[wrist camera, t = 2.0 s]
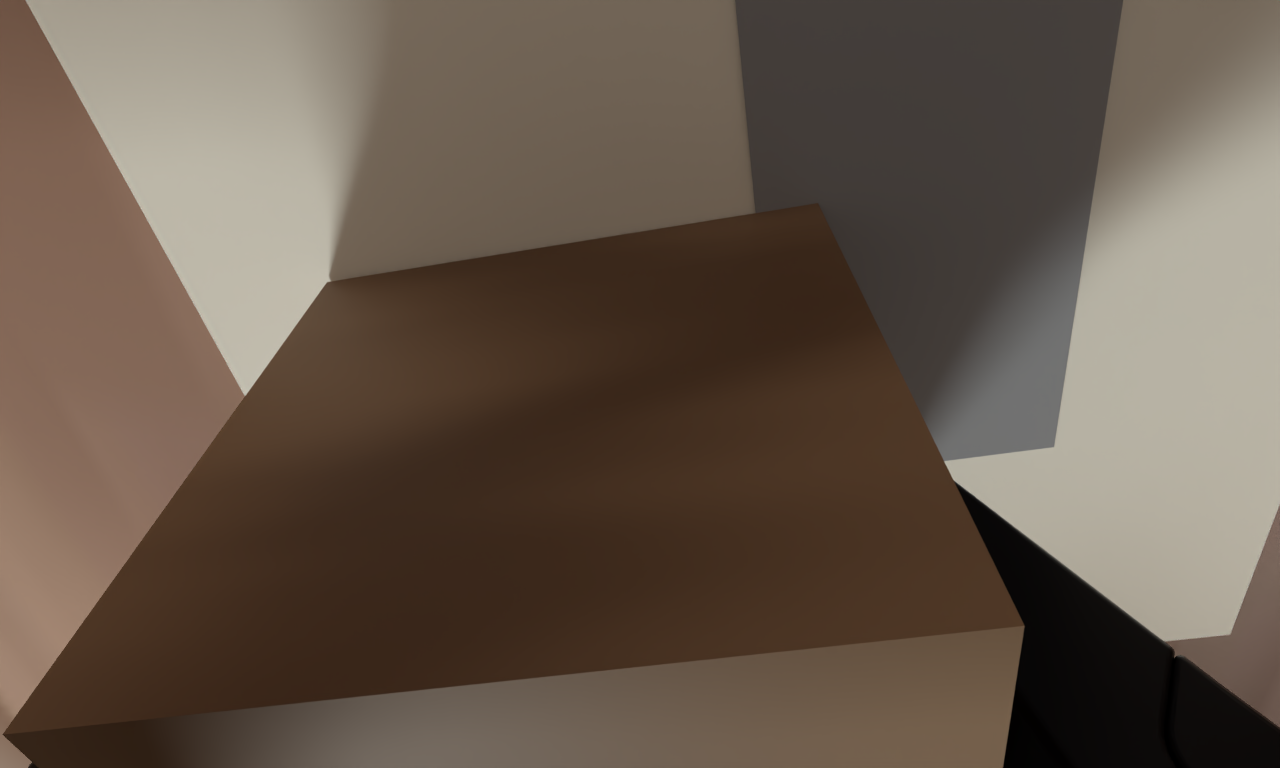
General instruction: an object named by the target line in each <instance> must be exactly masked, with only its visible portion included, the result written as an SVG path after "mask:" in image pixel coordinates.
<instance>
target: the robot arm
mask: <svg viewBox="0 0 1280 768" xmlns="http://www.w3.org/2000/svg"><path fill="white" fill-rule="evenodd" d="M954 482H955V481H954ZM955 484H956V487H957V489H958V491H959V493H960V495H961V497H962V499H963V501H964V503H965V505H966V507H967V509H968V511H969V513H970V515H971V517H972V519H973V521H974V523H975V525H976V527H977V529H978V532H979V534H980V536H981V538H982V540H983V542H984V544H985V546H986V548H987V550H988V552H989V554H990V556H991V558H992V560H993V562H994V564H995V566H996V568H997V570H998V572H999V574H1000V577H1001V579H1002V581H1003V583H1004V585H1005V587H1006V589H1007V591H1008V593H1009V595H1010V597H1011V599H1012V601H1013V603H1014V605H1015V607H1016V609H1017V611H1018V613H1019V615H1020V617H1021V619H1022V622H1023V624H1024V626H1025V627H1024V633H1023V640H1022V646H1021V653H1020V659H1019V666H1018V672H1017V679H1016V685H1015V692H1014V699H1013V705H1012V712H1011V718H1010V725H1009V731H1008V738H1007V744H1006V751H1005V757H1004V764H1003V768H1280V727H1278V726H1277V725H1275V724H1274V723H1273V722H1271V721H1270V720H1269V719H1267V718H1266V717H1265V716H1263V715H1262V714H1260V713H1259V712H1258V711H1256V710H1255V709H1254V708H1252V707H1251V706H1250V705H1248V704H1247V703H1245V702H1244V701H1243V700H1241V699H1240V698H1239V697H1237V696H1236V695H1234V694H1233V693H1232V692H1230V691H1229V690H1228V689H1226V688H1225V687H1224V686H1222V685H1221V684H1220V683H1218V682H1217V681H1216V680H1215V679H1213V678H1212V677H1211V676H1209V675H1208V674H1207V673H1205V672H1204V671H1203V670H1201V669H1200V668H1199V667H1198V666H1196V665H1195V664H1194V663H1192V662H1191V661H1190V660H1188V659H1187V658H1186V657H1184V656H1181V655H1180V656H1176V657H1175V658H1174V649H1173V648H1172V647H1171V646H1169V645H1168V644H1167V643H1166V642H1164V641H1163V640H1162V639H1160V638H1159V637H1158V636H1156V635H1155V634H1154V633H1152V632H1151V631H1150V630H1149V629H1147V628H1146V627H1145V626H1143V625H1142V624H1141V623H1139V622H1138V621H1137V620H1136V619H1134V618H1133V617H1132V616H1130V615H1129V614H1128V613H1126V612H1125V611H1124V610H1122V609H1121V608H1120V607H1119V606H1117V605H1116V604H1115V603H1113V602H1112V601H1111V600H1109V599H1108V598H1107V597H1105V596H1104V595H1103V594H1102V593H1100V592H1099V591H1098V590H1096V589H1095V588H1094V587H1092V586H1091V585H1090V584H1088V583H1087V582H1086V581H1085V580H1083V579H1082V578H1081V577H1079V576H1078V575H1077V574H1075V573H1074V572H1073V571H1071V570H1070V569H1069V568H1068V567H1066V566H1065V565H1064V564H1062V563H1061V562H1060V561H1058V560H1057V559H1056V558H1055V557H1053V556H1052V555H1051V554H1049V553H1048V552H1047V551H1045V550H1044V549H1043V548H1041V547H1040V546H1039V545H1038V544H1036V543H1035V542H1034V541H1032V540H1031V539H1030V538H1028V537H1027V536H1026V535H1024V534H1023V533H1022V532H1021V531H1019V530H1018V529H1017V528H1015V527H1014V526H1013V525H1011V524H1010V523H1009V522H1007V521H1006V520H1005V519H1004V518H1002V517H1001V516H1000V515H998V514H997V513H996V512H994V511H993V510H992V509H990V508H989V507H988V506H987V505H985V504H984V503H983V502H981V501H980V500H979V499H977V498H976V497H975V496H974V495H972V494H971V493H970V492H968V491H967V490H966V489H964V488H963V487H962V486H960V485H959V484H958V483H957V482H955ZM28 768H38V767H37V766H36V765H35V764H34V763H33V762H32V763H31V764H30V765H29V767H28Z"/></svg>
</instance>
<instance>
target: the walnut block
mask: <svg viewBox="0 0 1280 768" xmlns="http://www.w3.org/2000/svg"><path fill="white" fill-rule="evenodd" d="M1024 627H1025V626H1024V624H1023V622H1022V619H1021V617H1020V615H1019V613H1018V611H1017V609H1016V607H1015V605H1014V603H1013V601H1012V599H1011V597H1010V595H1009V593H1008V591H1007V589H1006V587H1005V585H1004V583H1003V581H1002V579H1001V577H1000V574H999V572H998V570H997V568H996V566H995V564H994V562H993V560H992V558H991V556H990V554H989V552H988V550H987V548H986V546H985V544H984V542H983V540H982V538H981V536H980V534H979V532H978V529H977V527H976V525H975V523H974V521H973V519H972V517H971V515H970V513H969V511H968V509H967V507H966V505H965V503H964V501H963V499H962V497H961V495H960V493H959V491H958V489H957V487H956V484H955V482H954V480H953V478H952V476H951V474H950V472H949V470H948V468H947V466H946V464H945V462H944V460H943V458H942V456H941V454H940V452H939V450H938V448H937V446H936V444H935V442H934V439H933V437H932V435H931V433H930V431H929V429H928V427H927V425H926V423H925V421H924V419H923V417H922V415H921V413H920V411H919V409H918V407H917V405H916V403H915V401H914V399H913V397H912V394H911V392H910V390H909V388H908V386H907V384H906V382H905V380H904V378H903V376H902V374H901V372H900V370H899V368H898V366H897V364H896V362H895V360H894V358H893V356H892V354H891V352H890V349H889V347H888V345H887V343H886V341H885V339H884V337H883V335H882V333H881V331H880V329H879V327H878V325H877V323H876V321H875V319H874V317H873V315H872V313H871V311H870V309H869V307H868V304H867V302H866V300H865V298H864V296H863V294H862V292H861V290H860V288H859V286H858V284H857V282H856V280H855V278H854V276H853V274H852V272H851V270H850V268H849V266H848V264H847V262H846V259H845V257H844V255H843V253H842V251H841V249H840V247H839V245H838V243H837V241H836V239H835V237H834V235H833V233H832V231H831V229H830V227H829V225H828V223H827V221H826V219H825V217H824V214H823V212H822V210H821V208H820V206H819V204H818V203H816V204H810V205H803V206H797V207H791V208H785V209H779V210H772V211H766V212H760V213H754V214H747V215H741V216H735V217H729V218H722V219H716V220H710V221H704V222H698V223H691V224H685V225H679V226H673V227H666V228H660V229H654V230H648V231H642V232H635V233H629V234H623V235H617V236H611V237H604V238H598V239H592V240H586V241H579V242H573V243H567V244H561V245H555V246H548V247H542V248H536V249H530V250H523V251H517V252H511V253H505V254H499V255H492V256H486V257H480V258H474V259H467V260H461V261H455V262H449V263H443V264H436V265H430V266H424V267H418V268H412V269H405V270H399V271H393V272H387V273H380V274H374V275H368V276H362V277H356V278H349V279H343V280H337V281H331V282H327V283H326V284H325V286H324V287H323V288H322V290H321V291H320V293H319V294H318V295H317V297H316V298H315V300H314V301H313V302H312V304H311V305H310V307H309V308H308V309H307V311H306V312H305V314H304V315H303V316H302V318H301V319H300V321H299V322H298V323H297V325H296V326H295V327H294V329H293V330H292V332H291V333H290V334H289V336H288V337H287V339H286V340H285V341H284V343H283V344H282V346H281V347H280V348H279V350H278V351H277V353H276V354H275V355H274V357H273V358H272V360H271V361H270V362H269V364H268V365H267V367H266V368H265V369H264V371H263V372H262V374H261V375H260V376H259V378H258V379H257V380H256V382H255V383H254V385H253V386H252V387H251V389H250V390H249V392H248V393H247V394H246V396H245V397H244V399H243V400H242V401H241V403H240V404H239V406H238V407H237V408H236V410H235V411H234V413H233V414H232V415H231V417H230V418H229V420H228V421H227V422H226V424H225V425H224V427H223V428H222V429H221V431H220V432H219V434H218V435H217V436H216V438H215V439H214V440H213V442H212V443H211V445H210V446H209V447H208V449H207V450H206V452H205V453H204V454H203V456H202V457H201V459H200V460H199V461H198V463H197V464H196V466H195V467H194V468H193V470H192V471H191V473H190V474H189V475H188V477H187V478H186V480H185V481H184V482H183V484H182V485H181V487H180V488H179V489H178V491H177V492H176V493H175V495H174V496H173V498H172V499H171V500H170V502H169V503H168V505H167V506H166V507H165V509H164V510H163V512H162V513H161V514H160V516H159V517H158V519H157V520H156V521H155V523H154V524H153V526H152V527H151V528H150V530H149V531H148V533H147V534H146V535H145V537H144V538H143V540H142V541H141V542H140V544H139V545H138V546H137V548H136V549H135V551H134V552H133V553H132V555H131V556H130V558H129V559H128V560H127V562H126V563H125V565H124V566H123V567H122V569H121V570H120V572H119V573H118V574H117V576H116V577H115V579H114V580H113V581H112V583H111V584H110V586H109V587H108V588H107V590H106V591H105V593H104V594H103V595H102V597H101V598H100V599H99V601H98V602H97V604H96V605H95V606H94V608H93V609H92V611H91V612H90V613H89V615H88V616H87V618H86V619H85V620H84V622H83V623H82V625H81V626H80V627H79V629H78V630H77V632H76V633H75V634H74V636H73V637H72V639H71V640H70V641H69V643H68V644H67V646H66V647H65V648H64V650H63V651H62V652H61V654H60V655H59V657H58V658H57V659H56V661H55V662H54V664H53V665H52V666H51V668H50V669H49V671H48V672H47V673H46V675H45V676H44V678H43V679H42V680H41V682H40V683H39V685H38V686H37V687H36V689H35V690H34V692H33V693H32V694H31V696H30V697H29V699H28V700H27V701H26V703H25V704H24V706H23V707H22V708H21V710H20V711H19V712H18V714H17V715H16V717H15V718H14V719H13V721H12V722H11V724H10V725H9V727H8V728H7V729H6V731H5V732H4V733H3V735H4V736H5V737H6V738H7V739H8V740H9V741H10V742H11V743H12V744H13V745H14V746H15V747H17V748H18V749H19V750H20V751H21V752H22V753H23V754H24V755H25V756H26V757H27V758H28V759H30V760H31V761H32V762H33V763H34V764H35V765H36V766H37V767H38V768H1003V764H1004V757H1005V751H1006V744H1007V738H1008V731H1009V725H1010V718H1011V712H1012V705H1013V699H1014V692H1015V685H1016V679H1017V672H1018V666H1019V659H1020V653H1021V646H1022V640H1023V633H1024Z"/></svg>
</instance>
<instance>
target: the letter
mask: <svg viewBox="0 0 1280 768" xmlns="http://www.w3.org/2000/svg"><path fill="white" fill-rule="evenodd" d="M26 2H27V4H28V6H29V7H30V9H31V11H32V13H33V15H34V16H35V18H36V20H37V22H38V24H39V25H40V27H41V29H42V31H43V33H44V35H45V36H46V38H47V40H48V42H49V44H50V45H51V47H52V49H53V51H54V53H55V54H56V56H57V58H58V60H59V62H60V63H61V65H62V67H63V69H64V71H65V72H66V74H67V76H68V78H69V80H70V81H71V83H72V85H73V87H74V89H75V90H76V92H77V94H78V96H79V98H80V99H81V101H82V103H83V105H84V107H85V108H86V110H87V112H88V114H89V116H90V118H91V119H92V121H93V123H94V125H95V127H96V128H97V130H98V132H99V134H100V136H101V137H102V139H103V141H104V143H105V145H106V146H107V148H108V150H109V152H110V154H111V155H112V157H113V159H114V161H115V163H116V164H117V166H118V168H119V170H120V172H121V173H122V175H123V177H124V179H125V181H126V182H127V184H128V186H129V188H130V190H131V191H132V193H133V195H134V197H135V199H136V200H137V202H138V204H139V206H140V208H141V210H142V211H143V213H144V215H145V217H146V219H147V220H148V222H149V224H150V226H151V228H152V229H153V231H154V233H155V235H156V237H157V238H158V240H159V242H160V244H161V246H162V247H163V249H164V251H165V253H166V255H167V256H168V258H169V260H170V262H171V264H172V265H173V267H174V269H175V271H176V273H177V274H178V276H179V278H180V280H181V282H182V283H183V285H184V287H185V289H186V291H187V293H188V294H189V296H190V298H191V300H192V302H193V303H194V305H195V307H196V309H197V311H198V312H199V314H200V316H201V318H202V320H203V321H204V323H205V325H206V327H207V329H208V330H209V332H210V334H211V336H212V338H213V339H214V341H215V343H216V345H217V347H218V348H219V350H220V352H221V354H222V356H223V357H224V359H225V361H226V363H227V365H228V366H229V368H230V370H231V372H232V374H233V375H234V377H235V379H236V381H237V383H238V385H239V386H240V388H241V390H242V392H243V394H244V395H245V396H246V394H247V393H248V392H249V390H250V389H251V387H252V386H253V385H254V383H255V382H256V380H257V379H258V378H259V376H260V375H261V374H262V372H263V371H264V369H265V368H266V367H267V365H268V364H269V362H270V361H271V360H272V358H273V357H274V355H275V354H276V353H277V351H278V350H279V348H280V347H281V346H282V344H283V343H284V341H285V340H286V339H287V337H288V336H289V334H290V333H291V332H292V330H293V329H294V327H295V326H296V325H297V323H298V322H299V321H300V319H301V318H302V316H303V315H304V314H305V312H306V311H307V309H308V308H309V307H310V305H311V304H312V302H313V301H314V300H315V298H316V297H317V295H318V294H319V293H320V291H321V290H322V288H323V287H324V286H325V284H326V283H327V282H331V281H337V280H343V279H349V278H356V277H362V276H368V275H374V274H380V273H387V272H393V271H399V270H405V269H412V268H418V267H424V266H430V265H436V264H443V263H449V262H455V261H461V260H467V259H474V258H480V257H486V256H492V255H499V254H505V253H511V252H517V251H523V250H530V249H536V248H542V247H548V246H555V245H561V244H567V243H573V242H579V241H586V240H592V239H598V238H604V237H611V236H617V235H623V234H629V233H635V232H642V231H648V230H654V229H660V228H666V227H673V226H679V225H685V224H691V223H698V222H704V221H710V220H716V219H722V218H729V217H735V216H741V215H747V214H754V213H760V212H766V211H772V210H779V209H785V208H791V207H797V206H803V205H810V204H816V203H818V204H819V206H820V208H821V210H822V212H823V214H824V217H825V219H826V221H827V223H828V225H829V227H830V229H831V231H832V233H833V235H834V237H835V239H836V241H837V243H838V245H839V247H840V249H841V251H842V253H843V255H844V257H845V259H846V262H847V264H848V266H849V268H850V270H851V272H852V274H853V276H854V278H855V280H856V282H857V284H858V286H859V288H860V290H861V292H862V294H863V296H864V298H865V300H866V302H867V304H868V307H869V309H870V311H871V313H872V315H873V317H874V319H875V321H876V323H877V325H878V327H879V329H880V331H881V333H882V335H883V337H884V339H885V341H886V343H887V345H888V347H889V349H890V352H891V354H892V356H893V358H894V360H895V362H896V364H897V366H898V368H899V370H900V372H901V374H902V376H903V378H904V380H905V382H906V384H907V386H908V388H909V390H910V392H911V394H912V397H913V399H914V401H915V403H916V405H917V407H918V409H919V411H920V413H921V415H922V417H923V419H924V421H925V423H926V425H927V427H928V429H929V431H930V433H931V435H932V437H933V439H934V442H935V444H936V446H937V448H938V450H939V452H940V454H941V456H942V458H943V460H944V462H945V464H946V466H947V468H948V470H949V472H950V474H951V476H952V478H953V480H954V481H955V482H957V483H958V484H959V485H960V486H962V487H963V488H964V489H966V490H967V491H968V492H970V493H971V494H972V495H974V496H975V497H976V498H977V499H979V500H980V501H981V502H983V503H984V504H985V505H987V506H988V507H989V508H990V509H992V510H993V511H994V512H996V513H997V514H998V515H1000V516H1001V517H1002V518H1004V519H1005V520H1006V521H1007V522H1009V523H1010V524H1011V525H1013V526H1014V527H1015V528H1017V529H1018V530H1019V531H1021V532H1022V533H1023V534H1024V535H1026V536H1027V537H1028V538H1030V539H1031V540H1032V541H1034V542H1035V543H1036V544H1038V545H1039V546H1040V547H1041V548H1043V549H1044V550H1045V551H1047V552H1048V553H1049V554H1051V555H1052V556H1053V557H1055V558H1056V559H1057V560H1058V561H1060V562H1061V563H1062V564H1064V565H1065V566H1066V567H1068V568H1069V569H1070V570H1071V571H1073V572H1074V573H1075V574H1077V575H1078V576H1079V577H1081V578H1082V579H1083V580H1085V581H1086V582H1087V583H1088V584H1090V585H1091V586H1092V587H1094V588H1095V589H1096V590H1098V591H1099V592H1100V593H1102V594H1103V595H1104V596H1105V597H1107V598H1108V599H1109V600H1111V601H1112V602H1113V603H1115V604H1116V605H1117V606H1119V607H1120V608H1121V609H1122V610H1124V611H1125V612H1126V613H1128V614H1129V615H1130V616H1132V617H1133V618H1134V619H1136V620H1137V621H1138V622H1139V623H1141V624H1142V625H1143V626H1145V627H1146V628H1147V629H1149V630H1150V631H1151V632H1152V633H1154V634H1155V635H1156V636H1158V637H1159V638H1160V639H1162V640H1163V641H1173V640H1183V639H1193V638H1202V637H1212V636H1222V635H1230V634H1231V631H1232V629H1233V626H1234V623H1235V621H1236V618H1237V615H1238V613H1239V610H1240V607H1241V605H1242V602H1243V600H1244V597H1245V594H1246V592H1247V589H1248V586H1249V584H1250V581H1251V578H1252V576H1253V573H1254V571H1255V568H1256V565H1257V563H1258V560H1259V557H1260V555H1261V552H1262V549H1263V547H1264V544H1265V542H1266V539H1267V536H1268V534H1269V531H1270V528H1271V526H1272V523H1273V520H1274V518H1275V515H1276V513H1277V510H1278V507H1279V505H1280V0H26Z"/></svg>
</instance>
